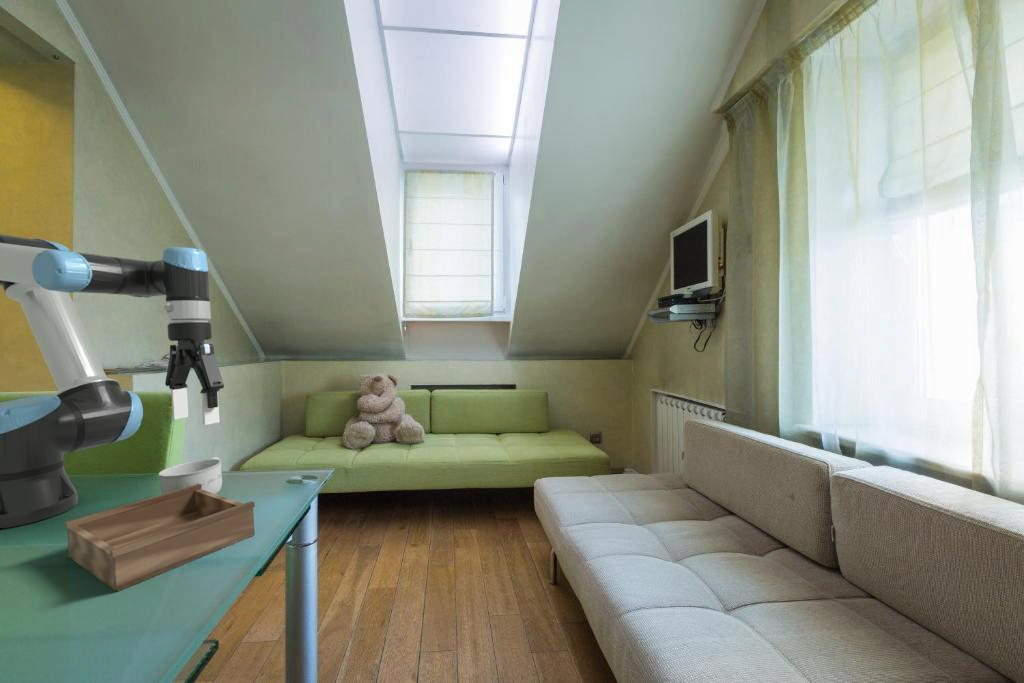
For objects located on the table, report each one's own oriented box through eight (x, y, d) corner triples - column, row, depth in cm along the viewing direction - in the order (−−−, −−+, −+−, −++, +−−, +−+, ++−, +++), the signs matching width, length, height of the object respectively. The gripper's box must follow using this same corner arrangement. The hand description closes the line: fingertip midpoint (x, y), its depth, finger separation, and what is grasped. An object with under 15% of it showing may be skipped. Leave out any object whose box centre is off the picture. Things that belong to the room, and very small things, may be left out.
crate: (67, 557, 72) (64, 522, 72) (200, 512, 89) (198, 483, 89) (115, 592, 62) (112, 552, 61) (256, 534, 78) (254, 502, 78)
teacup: (190, 514, 88) (188, 475, 87) (146, 511, 90) (144, 472, 90) (246, 489, 101) (244, 454, 101) (206, 486, 104) (204, 453, 103)
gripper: (143, 323, 97) (149, 419, 98) (198, 319, 85) (204, 429, 85) (182, 323, 104) (187, 413, 105) (239, 319, 91) (245, 421, 92)
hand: (195, 420), depth 95 cm, fingers open, 13 cm apart
